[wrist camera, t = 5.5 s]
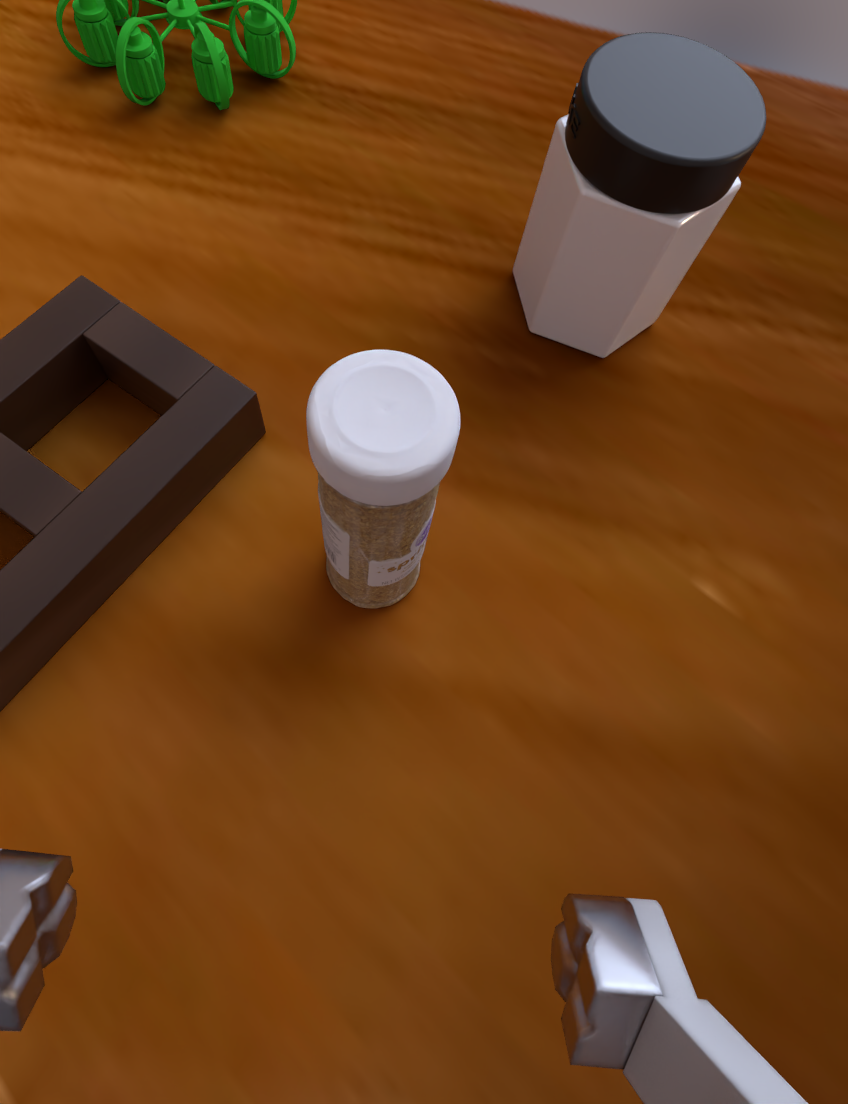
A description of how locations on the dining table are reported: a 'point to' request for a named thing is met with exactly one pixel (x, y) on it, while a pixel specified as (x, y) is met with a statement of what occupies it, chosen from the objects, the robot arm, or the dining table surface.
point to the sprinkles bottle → (379, 468)
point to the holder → (124, 487)
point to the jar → (633, 187)
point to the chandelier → (209, 59)
